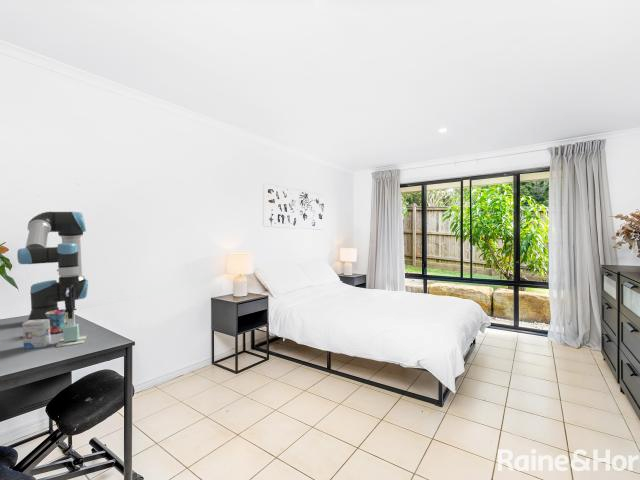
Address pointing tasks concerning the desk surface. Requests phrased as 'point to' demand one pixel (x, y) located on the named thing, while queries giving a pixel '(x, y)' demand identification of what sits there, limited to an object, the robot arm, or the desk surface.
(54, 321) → the mug
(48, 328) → the ink box
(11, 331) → the desk surface
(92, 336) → the desk surface
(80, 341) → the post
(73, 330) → the mint green block
